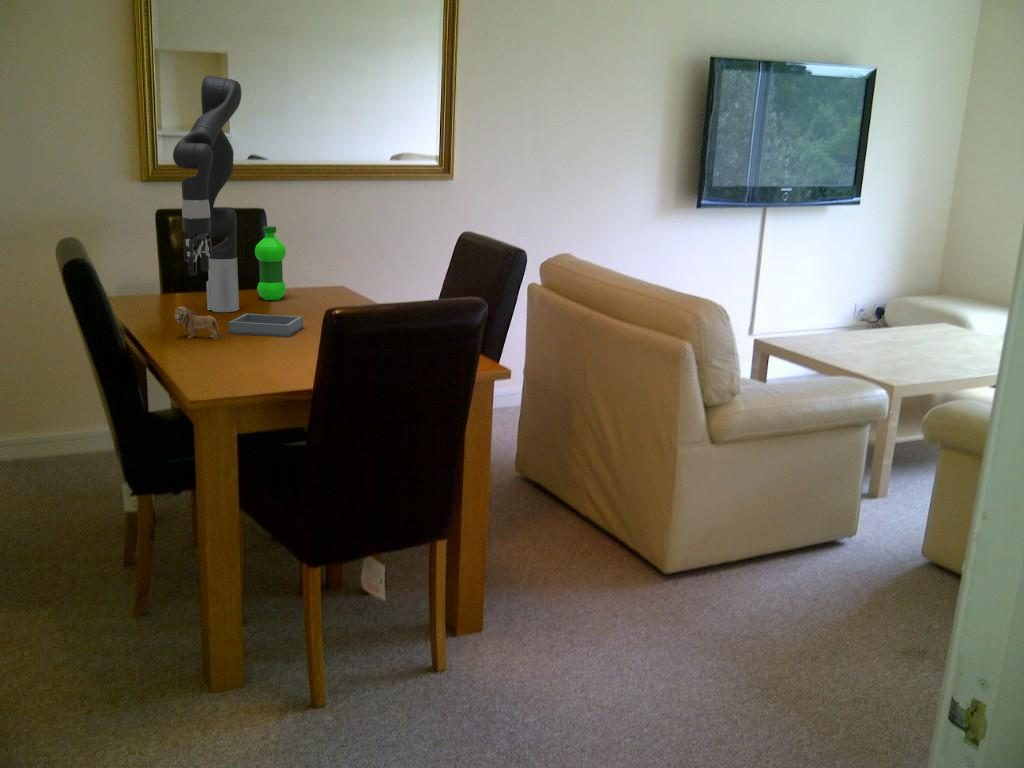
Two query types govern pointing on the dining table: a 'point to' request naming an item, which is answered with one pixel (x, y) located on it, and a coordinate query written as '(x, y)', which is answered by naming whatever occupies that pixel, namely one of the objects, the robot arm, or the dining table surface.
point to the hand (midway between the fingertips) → (199, 273)
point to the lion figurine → (196, 321)
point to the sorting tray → (266, 325)
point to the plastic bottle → (270, 265)
